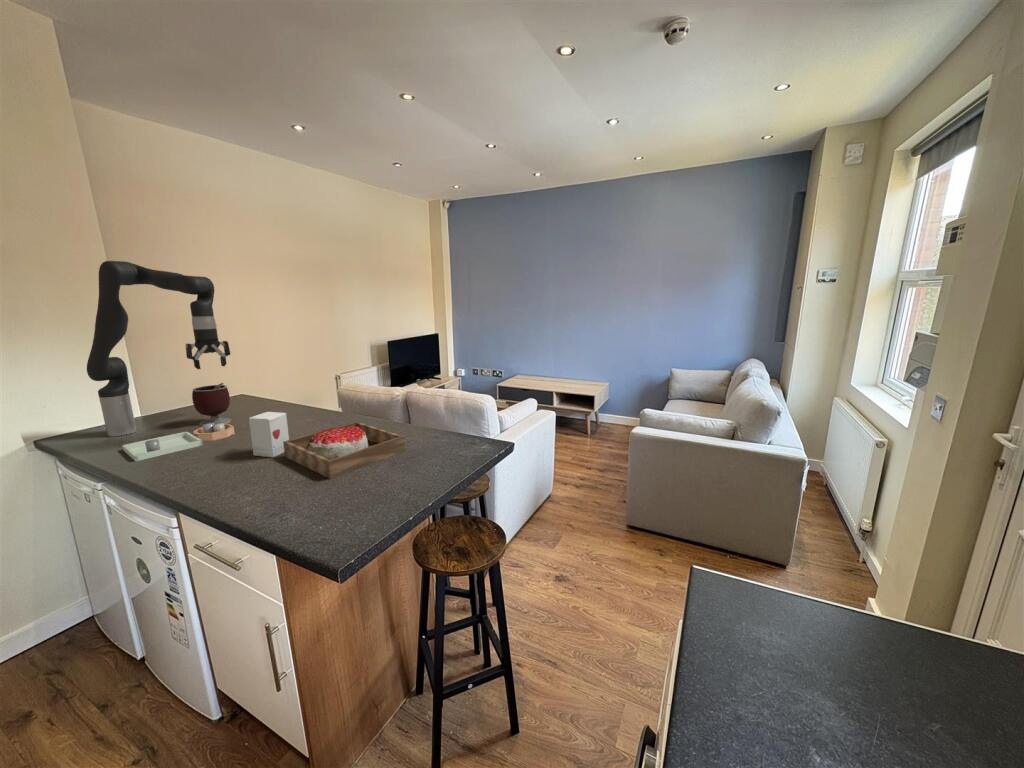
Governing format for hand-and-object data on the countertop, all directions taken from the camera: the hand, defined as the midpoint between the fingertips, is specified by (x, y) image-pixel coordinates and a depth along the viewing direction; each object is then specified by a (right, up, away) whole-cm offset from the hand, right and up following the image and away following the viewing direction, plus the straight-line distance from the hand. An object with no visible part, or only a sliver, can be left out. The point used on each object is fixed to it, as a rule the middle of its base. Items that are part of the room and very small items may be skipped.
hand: (211, 367), depth 163 cm
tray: (-12, -32, -8) cm, 36 cm away
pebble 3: (0, -29, +6) cm, 29 cm away
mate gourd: (-17, -25, +26) cm, 40 cm away
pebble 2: (-5, -29, +6) cm, 29 cm away
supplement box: (+31, -33, -10) cm, 47 cm away
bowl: (-3, -30, +6) cm, 30 cm away
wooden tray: (+60, -33, -11) cm, 69 cm away
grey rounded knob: (-10, -33, -14) cm, 37 cm away
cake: (+56, -34, -11) cm, 66 cm away
